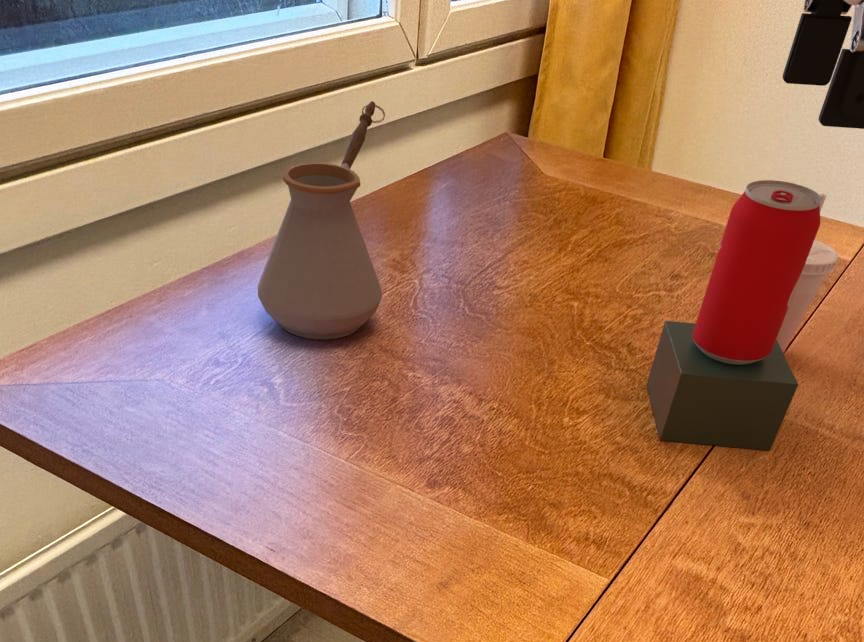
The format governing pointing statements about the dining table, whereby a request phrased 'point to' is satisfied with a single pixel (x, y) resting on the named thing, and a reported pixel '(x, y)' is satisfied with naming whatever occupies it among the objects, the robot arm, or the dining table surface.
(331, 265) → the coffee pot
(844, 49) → the robot arm
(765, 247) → the beverage can
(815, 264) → the smoothie
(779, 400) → the riser block
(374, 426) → the dining table surface
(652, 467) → the dining table surface
